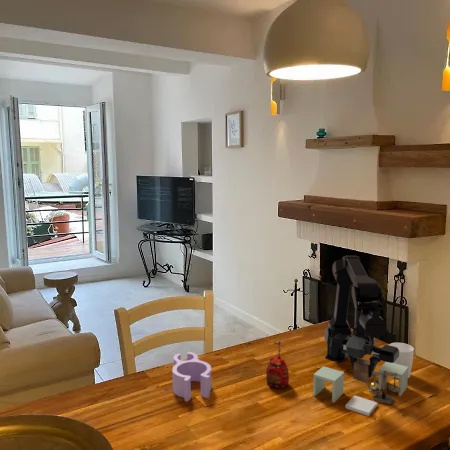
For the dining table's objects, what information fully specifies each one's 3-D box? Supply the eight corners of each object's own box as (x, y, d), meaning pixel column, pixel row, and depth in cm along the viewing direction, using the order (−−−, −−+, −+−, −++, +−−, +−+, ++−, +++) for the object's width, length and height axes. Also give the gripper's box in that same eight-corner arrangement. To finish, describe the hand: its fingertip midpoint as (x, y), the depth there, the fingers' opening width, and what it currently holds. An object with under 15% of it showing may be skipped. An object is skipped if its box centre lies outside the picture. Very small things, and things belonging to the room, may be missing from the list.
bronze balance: (366, 397, 140) (368, 368, 139) (370, 393, 143) (372, 364, 142) (397, 407, 135) (398, 376, 133) (400, 402, 137) (402, 372, 136)
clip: (166, 374, 156) (165, 355, 155) (200, 369, 160) (200, 350, 159) (177, 403, 137) (177, 382, 136) (217, 396, 141) (217, 376, 140)
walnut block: (353, 378, 133) (354, 362, 132) (358, 373, 136) (359, 357, 136) (366, 382, 131) (367, 366, 130) (371, 377, 134) (372, 361, 133)
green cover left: (313, 395, 142) (313, 374, 141) (322, 386, 147) (323, 366, 146) (334, 402, 137) (334, 380, 136) (343, 393, 143) (344, 372, 142)
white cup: (408, 370, 159) (409, 342, 157) (415, 380, 151) (417, 352, 149) (385, 369, 159) (386, 342, 158) (390, 379, 152) (392, 351, 150)
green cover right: (378, 389, 145) (379, 368, 144) (385, 381, 151) (386, 361, 150) (400, 396, 141) (401, 375, 140) (407, 387, 146) (408, 366, 145)
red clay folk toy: (262, 386, 147) (263, 342, 145) (270, 377, 153) (271, 335, 151) (285, 391, 144) (285, 346, 142) (292, 382, 150) (293, 339, 148)
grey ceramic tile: (345, 408, 134) (345, 405, 134) (354, 398, 140) (354, 395, 139) (368, 416, 130) (368, 412, 130) (377, 405, 135) (377, 402, 135)
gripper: (323, 325, 130) (321, 376, 133) (388, 340, 119) (385, 396, 121) (338, 314, 139) (337, 362, 141) (401, 328, 128) (398, 380, 130)
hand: (362, 374), depth 133 cm, fingers closed on walnut block, 4 cm apart
